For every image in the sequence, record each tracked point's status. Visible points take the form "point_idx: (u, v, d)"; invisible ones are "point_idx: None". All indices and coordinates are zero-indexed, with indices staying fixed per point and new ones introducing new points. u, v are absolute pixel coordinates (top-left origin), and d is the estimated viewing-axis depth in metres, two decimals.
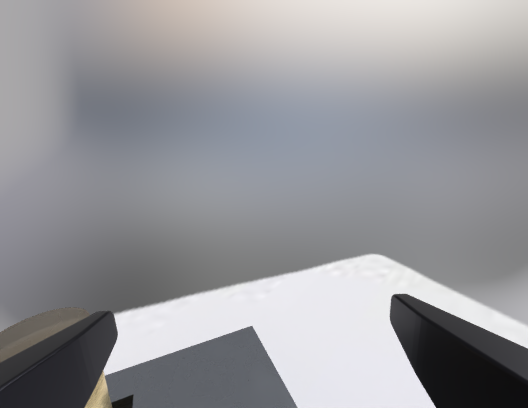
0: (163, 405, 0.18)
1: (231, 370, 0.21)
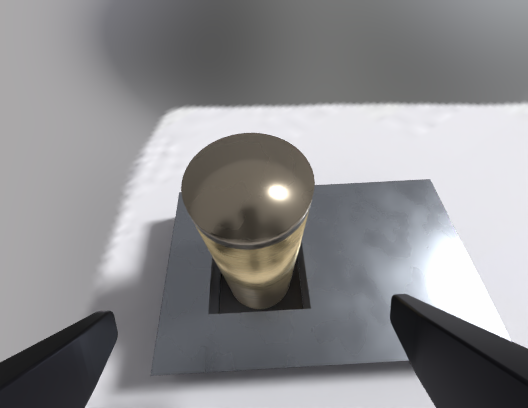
0: (332, 241, 0.17)
1: (406, 229, 0.18)
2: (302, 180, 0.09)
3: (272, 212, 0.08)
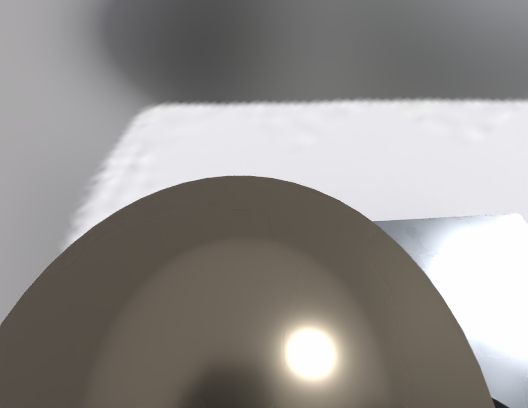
0: None
1: (499, 302, 0.11)
2: (443, 398, 0.02)
3: None
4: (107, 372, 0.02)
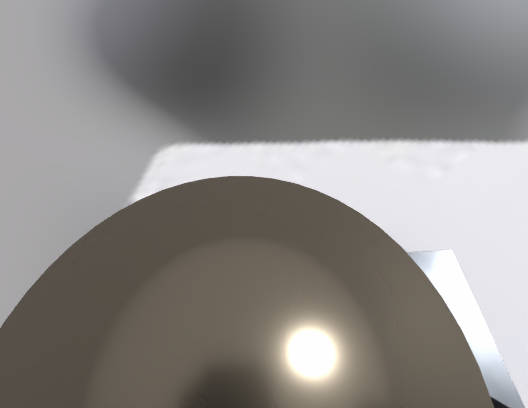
0: None
1: None
2: (443, 397, 0.02)
3: None
4: (109, 371, 0.02)
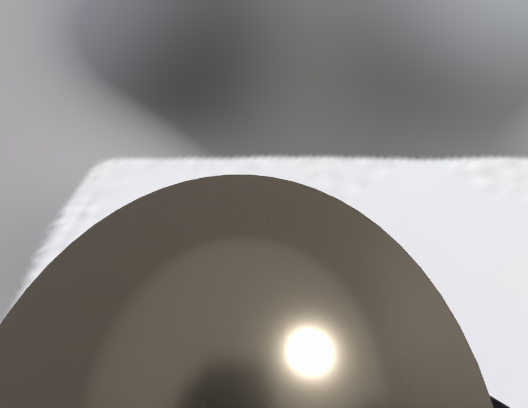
0: None
1: None
2: (441, 394, 0.02)
3: None
4: (107, 369, 0.02)
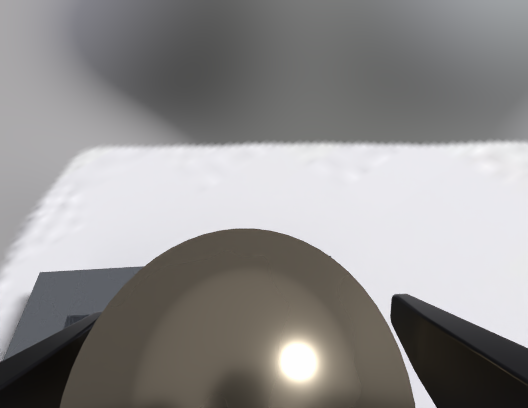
0: None
1: None
2: (381, 395, 0.03)
3: None
4: (159, 378, 0.04)
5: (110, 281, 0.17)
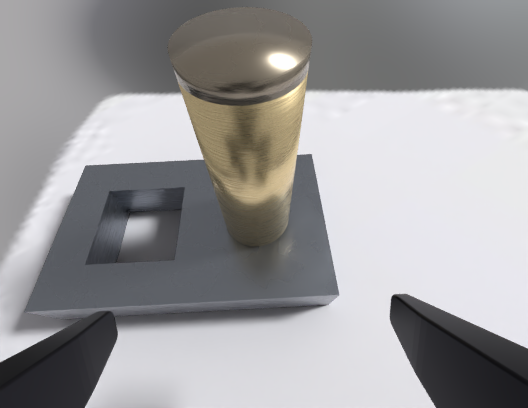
0: (208, 206, 0.20)
1: None
2: (298, 38, 0.08)
3: (265, 61, 0.08)
4: (207, 38, 0.08)
5: (140, 170, 0.22)
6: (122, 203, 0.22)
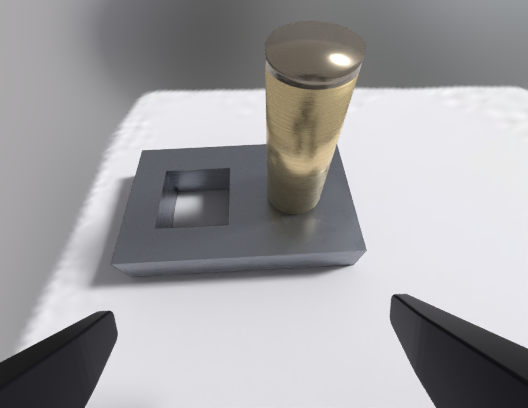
0: (252, 183, 0.23)
1: None
2: (356, 44, 0.12)
3: (337, 59, 0.11)
4: (292, 43, 0.12)
5: (190, 154, 0.25)
6: (173, 183, 0.26)
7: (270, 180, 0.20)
